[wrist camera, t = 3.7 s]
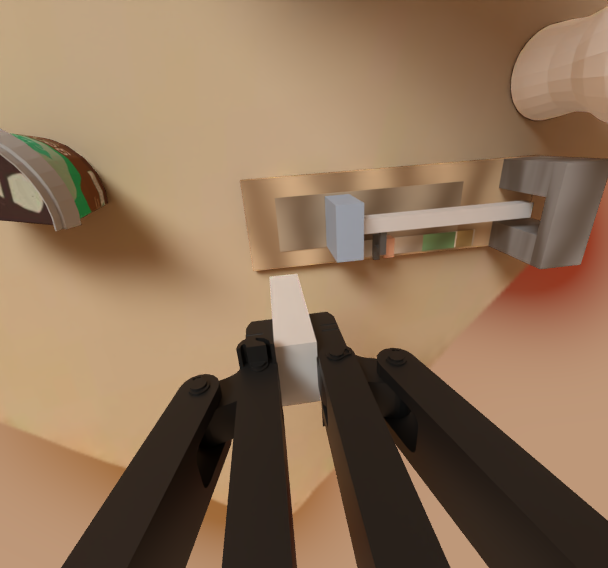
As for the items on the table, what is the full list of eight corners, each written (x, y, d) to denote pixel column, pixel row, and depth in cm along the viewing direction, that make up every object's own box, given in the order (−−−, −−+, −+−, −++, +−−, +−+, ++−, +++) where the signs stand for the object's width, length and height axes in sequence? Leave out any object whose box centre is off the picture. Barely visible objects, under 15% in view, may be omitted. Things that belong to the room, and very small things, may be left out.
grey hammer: (327, 261, 33) (337, 280, 29) (324, 196, 31) (335, 205, 26) (500, 242, 35) (536, 257, 30) (513, 179, 32) (554, 185, 28)
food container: (118, 133, 28) (48, 128, 18) (125, 205, 30) (65, 232, 21) (-47, 110, 26) (-217, 92, 16) (-26, 189, 28) (-165, 211, 19)
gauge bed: (253, 267, 34) (251, 302, 27) (240, 179, 30) (233, 192, 23) (515, 239, 36) (580, 264, 29) (533, 155, 33) (613, 159, 25)
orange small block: (380, 254, 34) (384, 258, 33) (380, 235, 33) (385, 239, 32) (389, 253, 34) (393, 257, 33) (390, 235, 33) (394, 238, 32)
